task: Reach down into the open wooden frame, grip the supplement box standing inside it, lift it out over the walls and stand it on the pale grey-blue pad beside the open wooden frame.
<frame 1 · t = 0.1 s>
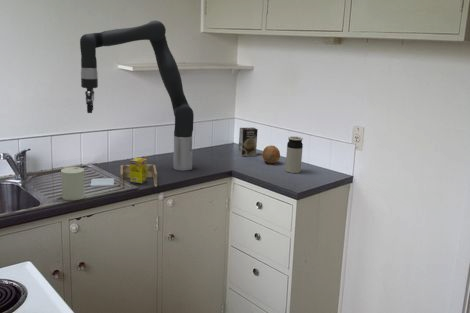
hand: (90, 111, 232), 29 cm above the worktop, tool pointing down, fingers open, 8 cm apart
onion: (270, 163, 269), on the worktop
travel mug: (292, 171, 254), on the worktop
can: (73, 197, 201), on the worktop
supplement box: (138, 182, 224), on the worktop
coffee box: (247, 155, 283), on the worktop
open wooden frame: (138, 182, 224), on the worktop
pad: (102, 182, 220), on the worktop
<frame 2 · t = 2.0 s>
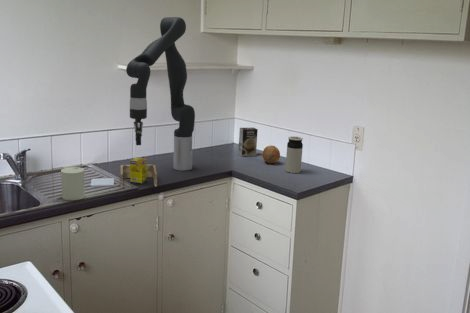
hand: (138, 143, 219), 19 cm above the worktop, tool pointing down, fingers open, 8 cm apart
nothing on the worktop moved.
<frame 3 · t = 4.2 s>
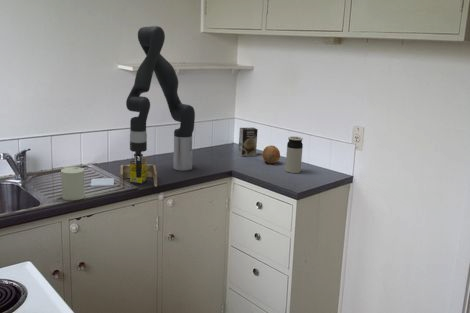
hand: (138, 174, 223), 3 cm above the worktop, tool pointing down, fingers closed on supplement box, 7 cm apart
supplement box: (138, 182, 224), on the worktop, touching gripper
everything else where it was.
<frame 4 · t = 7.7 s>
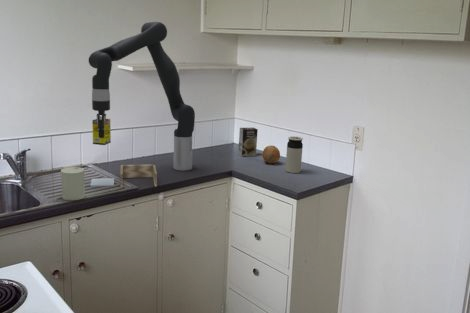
hand: (101, 135, 215), 22 cm above the worktop, tool pointing down, fingers closed on supplement box, 7 cm apart
supplement box: (101, 144, 216), point 18 cm above the worktop, touching gripper
everything else where it was.
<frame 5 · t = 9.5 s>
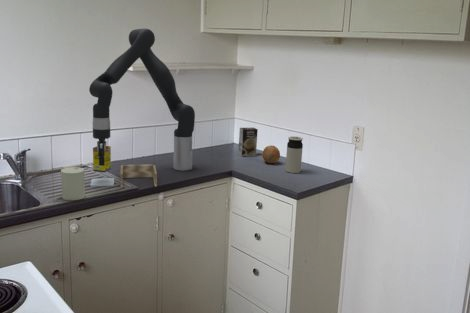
hand: (102, 162, 218), 9 cm above the worktop, tool pointing down, fingers closed on supplement box, 7 cm apart
supplement box: (102, 170, 219), point 6 cm above the worktop, touching gripper
everything else where it was.
when the fingers open (5 cm above the worktop, at t = 11.3 s): supplement box drops 1 cm, resting on pad.
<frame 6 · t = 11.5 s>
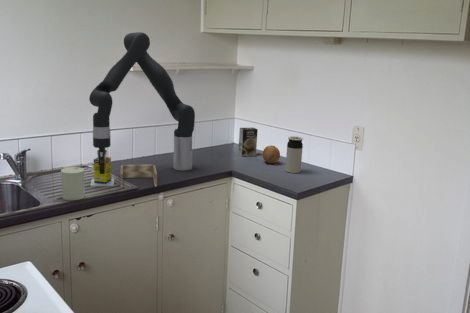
hand: (102, 171, 219), 6 cm above the worktop, tool pointing down, fingers open, 8 cm apart
supplement box: (102, 181, 220), resting on pad
everything else where it was.
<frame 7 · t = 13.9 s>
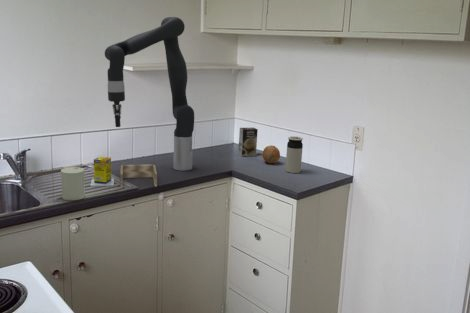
hand: (117, 125, 226), 25 cm above the worktop, tool pointing down, fingers open, 8 cm apart
nothing on the worktop moved.
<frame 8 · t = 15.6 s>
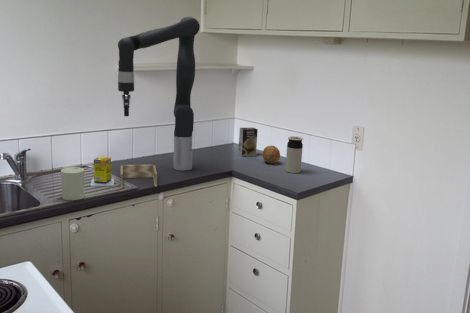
hand: (126, 114, 235), 28 cm above the worktop, tool pointing down, fingers open, 8 cm apart
nothing on the worktop moved.
at the end: supplement box inside the target area on the pad (0.2 cm from its centre), point 0.4 cm above the pad's base; supplement box tilted 0°; the gripper is holding nothing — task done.
